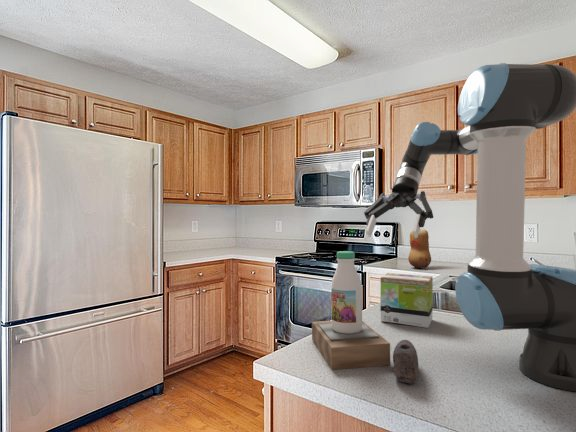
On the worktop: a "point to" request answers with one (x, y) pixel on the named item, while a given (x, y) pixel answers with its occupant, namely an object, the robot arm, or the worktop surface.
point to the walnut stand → (350, 346)
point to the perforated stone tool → (405, 362)
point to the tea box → (407, 299)
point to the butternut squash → (419, 250)
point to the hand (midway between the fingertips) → (390, 234)
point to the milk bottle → (346, 295)
